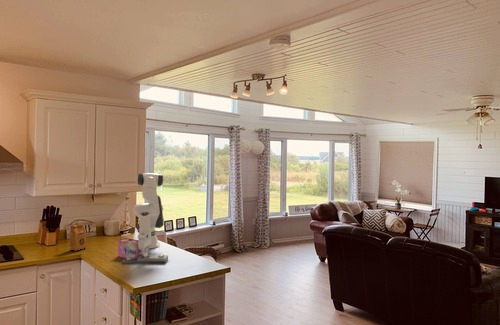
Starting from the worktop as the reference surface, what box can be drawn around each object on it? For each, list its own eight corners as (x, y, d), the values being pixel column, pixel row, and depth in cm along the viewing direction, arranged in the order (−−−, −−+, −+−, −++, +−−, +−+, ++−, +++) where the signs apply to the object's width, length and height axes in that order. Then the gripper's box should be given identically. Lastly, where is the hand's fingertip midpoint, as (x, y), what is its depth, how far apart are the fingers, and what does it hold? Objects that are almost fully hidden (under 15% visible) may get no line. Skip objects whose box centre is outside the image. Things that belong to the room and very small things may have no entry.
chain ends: (126, 260, 281) (126, 253, 281) (168, 260, 281) (168, 253, 281) (122, 263, 272) (122, 256, 272) (165, 263, 272) (165, 256, 272)
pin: (143, 261, 278) (143, 248, 278) (148, 261, 278) (148, 248, 278) (142, 262, 275) (142, 249, 275) (147, 262, 275) (147, 249, 275)
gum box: (145, 258, 287) (145, 241, 287) (137, 260, 280) (137, 243, 280) (125, 254, 300) (125, 237, 300) (117, 256, 293) (117, 239, 293)
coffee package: (88, 248, 319) (88, 223, 319) (75, 252, 308) (75, 225, 308) (80, 247, 324) (80, 222, 324) (67, 250, 313) (67, 224, 313)
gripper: (145, 231, 287) (145, 248, 287) (136, 236, 267) (136, 255, 267) (153, 231, 287) (153, 248, 287) (145, 236, 266) (145, 255, 267)
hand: (145, 252), depth 277 cm, fingers open, 8 cm apart
